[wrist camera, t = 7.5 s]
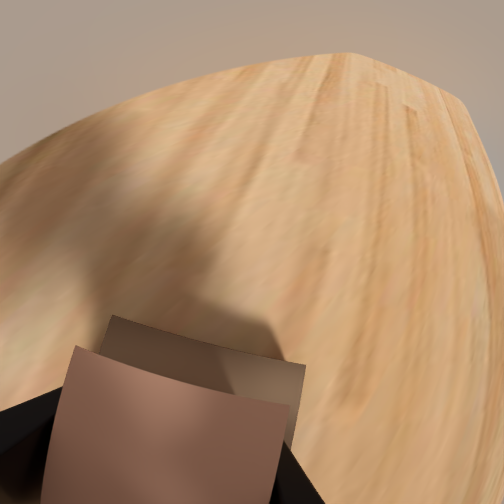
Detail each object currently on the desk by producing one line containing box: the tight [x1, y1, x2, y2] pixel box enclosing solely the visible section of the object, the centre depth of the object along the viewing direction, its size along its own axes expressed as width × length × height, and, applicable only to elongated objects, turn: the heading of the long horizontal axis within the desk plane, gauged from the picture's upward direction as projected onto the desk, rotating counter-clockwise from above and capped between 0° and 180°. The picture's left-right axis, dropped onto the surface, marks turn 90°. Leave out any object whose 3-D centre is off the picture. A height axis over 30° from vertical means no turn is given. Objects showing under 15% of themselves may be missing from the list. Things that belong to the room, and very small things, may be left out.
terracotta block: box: [40, 345, 290, 504], centre depth 9 cm, size 5×5×9 cm
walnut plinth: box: [99, 315, 306, 450], centre depth 14 cm, size 11×11×3 cm
